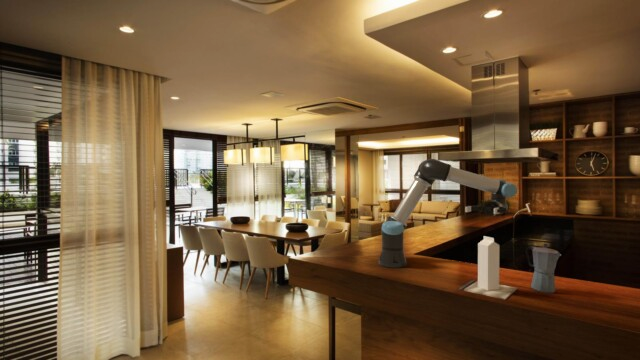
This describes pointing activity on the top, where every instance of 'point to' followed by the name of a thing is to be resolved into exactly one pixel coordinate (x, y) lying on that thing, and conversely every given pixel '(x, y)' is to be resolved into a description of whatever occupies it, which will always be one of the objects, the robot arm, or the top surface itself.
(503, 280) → the top surface
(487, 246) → the milk
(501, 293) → the mat
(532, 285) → the moka pot
